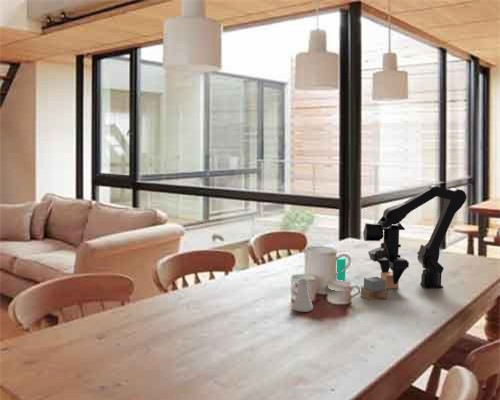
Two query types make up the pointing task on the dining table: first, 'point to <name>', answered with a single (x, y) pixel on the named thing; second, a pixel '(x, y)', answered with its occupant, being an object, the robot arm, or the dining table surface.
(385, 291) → the tower base
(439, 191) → the robot arm
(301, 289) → the flask
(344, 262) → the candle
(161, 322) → the dining table surface
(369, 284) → the tower middle
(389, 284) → the terracotta cube
